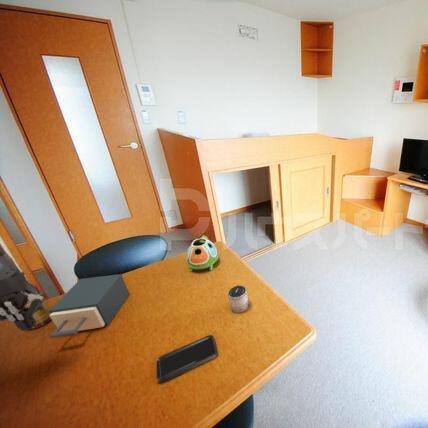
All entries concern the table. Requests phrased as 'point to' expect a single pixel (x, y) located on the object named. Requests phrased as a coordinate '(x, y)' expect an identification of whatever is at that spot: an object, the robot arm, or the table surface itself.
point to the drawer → (75, 321)
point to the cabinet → (95, 296)
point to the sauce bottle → (43, 312)
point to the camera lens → (238, 299)
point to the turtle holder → (201, 254)
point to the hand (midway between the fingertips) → (29, 327)
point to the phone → (185, 358)
